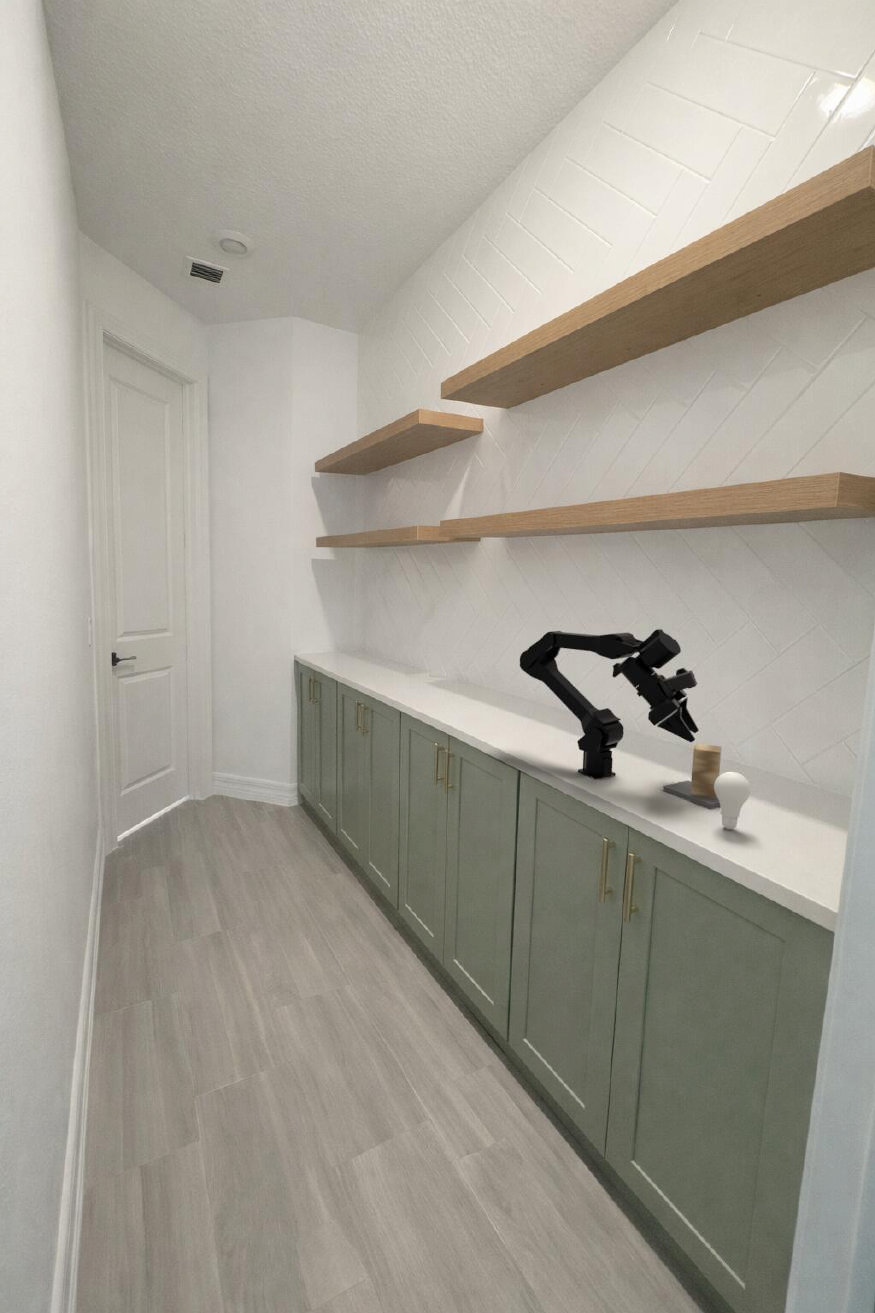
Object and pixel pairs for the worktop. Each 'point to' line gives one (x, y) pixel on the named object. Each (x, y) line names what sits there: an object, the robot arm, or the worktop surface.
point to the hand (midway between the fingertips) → (695, 736)
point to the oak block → (705, 770)
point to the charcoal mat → (684, 792)
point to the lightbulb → (731, 796)
